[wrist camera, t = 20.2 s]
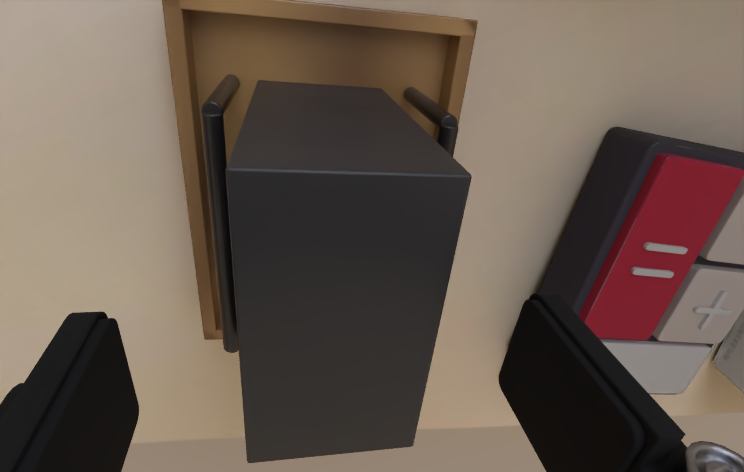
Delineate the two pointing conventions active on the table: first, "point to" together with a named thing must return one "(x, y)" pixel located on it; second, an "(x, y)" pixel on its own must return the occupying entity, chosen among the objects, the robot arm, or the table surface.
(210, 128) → the dish rack
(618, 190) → the calculator
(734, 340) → the tea box
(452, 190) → the black box
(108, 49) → the table surface
